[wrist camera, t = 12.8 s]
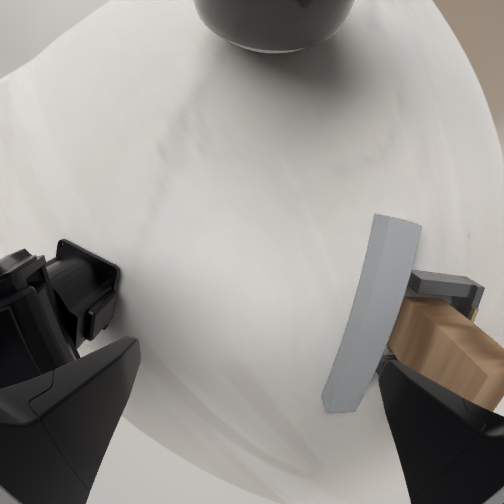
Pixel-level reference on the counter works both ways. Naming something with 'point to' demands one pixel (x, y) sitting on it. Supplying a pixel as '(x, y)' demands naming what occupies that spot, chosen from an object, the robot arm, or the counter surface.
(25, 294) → the robot arm
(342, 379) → the door edge
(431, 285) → the keeper
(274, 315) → the counter surface
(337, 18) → the dark grey egg shape
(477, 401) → the block
